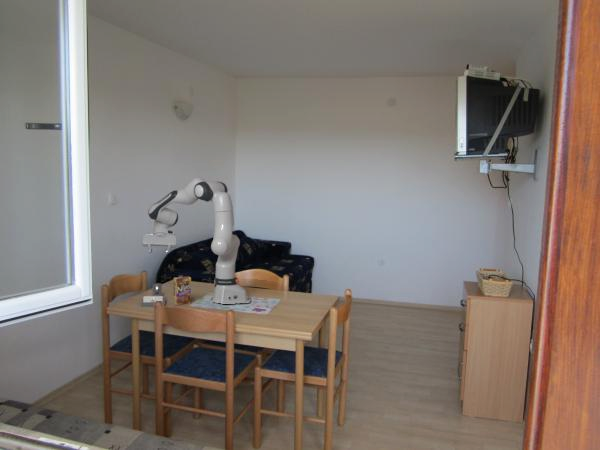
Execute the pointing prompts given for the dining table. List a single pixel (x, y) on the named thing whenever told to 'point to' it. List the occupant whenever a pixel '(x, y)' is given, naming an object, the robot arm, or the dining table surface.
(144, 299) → the scale
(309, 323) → the dining table surface
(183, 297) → the candy box
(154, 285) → the steel weight
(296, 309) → the dining table surface
